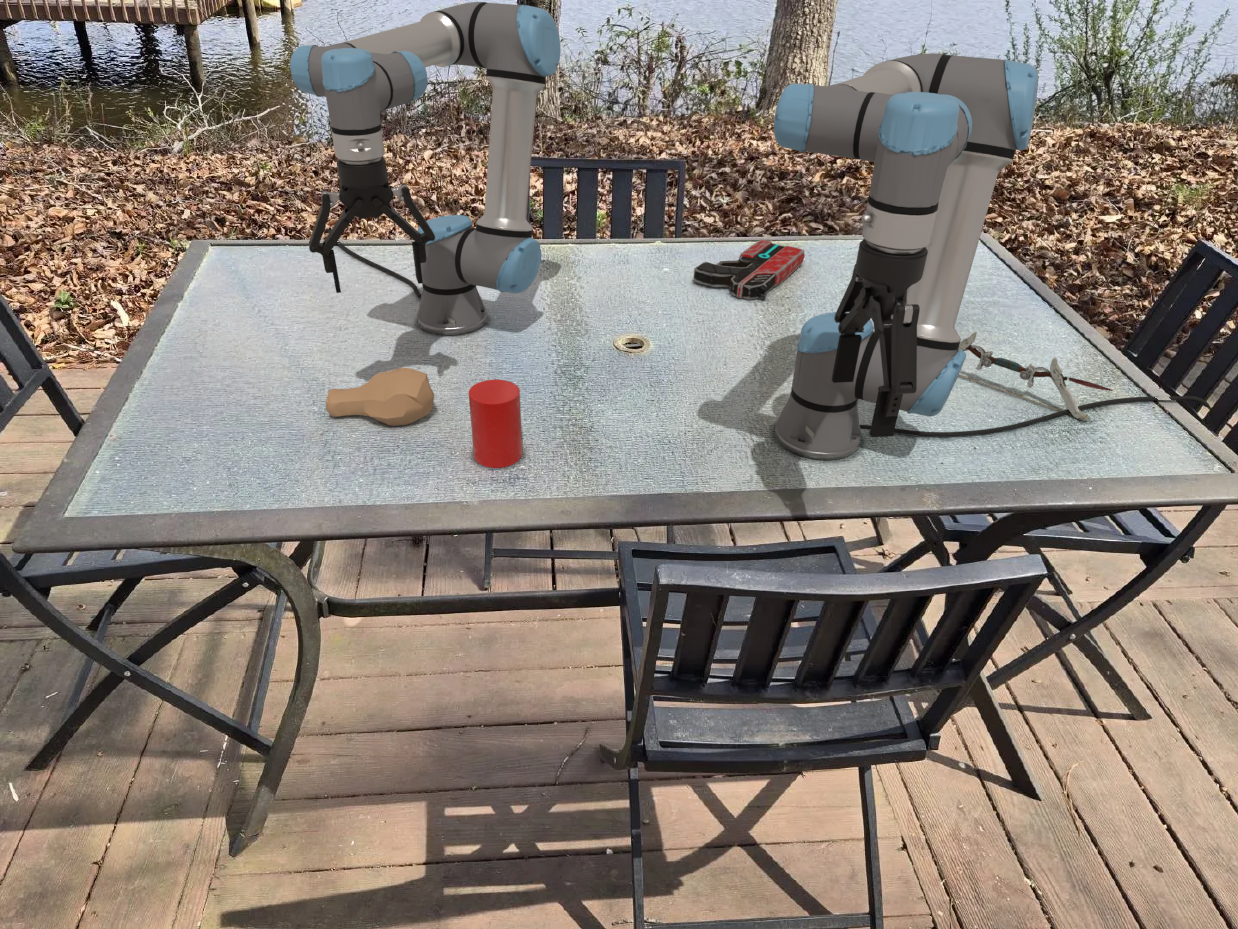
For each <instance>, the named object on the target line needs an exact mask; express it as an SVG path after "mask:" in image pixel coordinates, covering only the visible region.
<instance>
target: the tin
mask: <svg viewBox="0 0 1238 929" xmlns="http://www.w3.org/2000/svg"><path fill="white" fill-rule="evenodd" d="M468 401H469V416H470V427H471V439H472V453H473V459H474V460H475V462H476V463H477V464H479V465H481V466H483V467H486V468H490V469H491V468H493V469H502V468H507V467H510V466H513V465H515V464H517V463H518V462H519V461H520V460H521V459H522V457H523V435H522V433H523V432H522V412H521V410H522V409H521V390H520V388H519V386H518V385H517V384H515V383H514V382H512V381H510V380H505V379H487V380H486V379H485V380H482V381H479V382H476V383H475V384H473V385H472V386H471V387H470V388H469V390H468Z"/></svg>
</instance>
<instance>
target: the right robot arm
mask: <svg viewBox="0 0 1238 929" xmlns="http://www.w3.org/2000/svg"><path fill="white" fill-rule="evenodd" d="M1038 89H1039V73H1038V70H1037V68H1036V67H1035V66H1034V65H1032V64H1029V63H1025V62H1021V61H1015V60H1009V59H1006V58H1005V59H998V58H987V57H977V56H966V55H965V56H964V55H953V54H952V55H951V54H944V53H934V52H932V53H931V52H929V53H919V54H913V55H907V56H902V57H897V58H893V59H889V60H885V61H881V62H879V63H877V64H874V65H873V66H871V67H870V68H869V69H867V70H866V71H865V72H864V73H863V74H862V75H860V76H857V77H854V78H850V79H848V80H844V81H841V82H837V83H835V84H830V85H816V84H813V83H811V82H809V83H790V84H788V85H786V87H785V88H784V89H783V91H782V92H781V94H780V96H779V98H778V101H777V104H776V108H775V113H774V120H773V133H774V134H773V136H774V139H775V142H776V143H777V144H778V146H779V147H781V148H784V149H790V150H794V151H798V152H799V153H804V152H805V153H812V154H820V155H827V156H833V157H840V158H847V159H855V160H860V161H865V162H872V163H874V164H873V168H872V169H873V170H872V175H871V181H870V187H869V193H868V198H867V204H866V208H865V213H863V214H862V215H861V222H862V223H863V225H862V230H861V236H862V238H863V239H862V240H860V242H859V245H858V250H857V254H856V255H857V256H856V261H855V264H854V266H853V271H852V275H851V279H850V281H849V282H848V286H847V287H846V290H845V292H844V294H843V296H842V299H841V301H840V303H839V305H838V307H837V310H835V311H834V312H825V313H821V314H817V315H815V316H813V317H811V318H808V319H807V321H805V323H804V324H803V325H802V327H801V329H800V335H799V339H798V342H797V344H796V355H795V361H794V368H793V376H792V384H791V391H790V395H789V397H788V398H787V401H786V402H785V404H784V406H783V407H782V410H781V412H780V414H778V418H777V420H776V423H775V426H774V427H775V428H774V437H775V439H776V440H777V442H778V443H779V445H780V446H782V447H783V448H784V449H786V450H787V451H788V452H791V453H793V454H795V455H797V456H801V457H804V458H808V459H812V460H822V461H832V460H840V459H843V458H846V457H849V456H851V455H853V454H855V453H856V452H857V451H858V449H859V447H860V445H861V444H860V443H861V439H862V430H866V431H867V430H868V431H869V432H868V434H869V436H870V437H871V438H881V437H883V438H884V437H894V434H901V435H902V434H903V435H910V436H918V437H919V436H920V437H934V438H935V437H938V438H940V437H941V438H943V437H944V438H949V437H968V436H977V435H978V436H979V435H987V434H994V433H999V432H1006V431H1010V430H1014V429H1020V428H1023V427H1027V426H1030V425H1034V424H1037V423H1038V424H1039V423H1040V422H1046V421H1048V420H1051V419H1055V418H1058V417H1061V416H1064V415H1069V414H1068V413H1070V414H1072V413H1071V412H1070V411H1069V410H1068V408H1066V409H1063V410H1061V411H1055V412H1054V413H1049V414H1046V415H1044V416H1040V417H1038V418H1033V419H1028V420H1026V421H1021V422H1017V423H1014V424H1008V425H1004V426H1003V425H1002V426H997V427H991V428H985V429H976V430H975V429H974V430H962V431H923V430H912V429H906V428H905V429H904V428H898V427H897V428H896V425H897V421H898V419H899V418H898V417H899V413H900V411H901V412H902V411H903V412H906V413H907V414H909V415H910V414H914V415H919V416H925V417H935V416H937V415H938V414H940V412H941V411H942V410H943V409H944V406H945V405H946V402H947V401H948V399H949V397H950V395H951V392H952V390H953V388H954V386H955V384H956V382H957V380H958V377H959V375H960V373H961V371H962V368H963V365H964V363H965V360H966V358H967V353H966V351H964V352H963V350H958V348H959V344H960V342H961V341H962V338H961V336H960V334H959V333H958V331H957V329H956V322H957V319H958V315H959V312H960V309H961V305H962V302H963V298H964V294H965V291H966V287H967V284H968V281H969V276H970V273H971V270H972V267H973V263H974V259H975V256H976V252H977V249H978V245H979V241H980V239H981V235H982V231H983V228H984V224H985V221H986V217H987V214H988V209H989V207H990V203H991V199H992V197H993V193H994V189H995V186H996V181H997V178H998V176H999V173H1000V171H1001V170H1003V169H1004V168H1006V167H1007V166H1009V165H1010V164H1012V163H1013V162H1014V158H1015V154H1016V151H1024V150H1026V149H1027V148H1028V146H1029V145H1030V144H1029V143H1030V138H1031V135H1032V130H1033V125H1034V118H1035V112H1036V107H1037V106H1036V105H1037V98H1038ZM1155 397H1156V396H1133V397H1122V398H1113V399H1107V400H1100V401H1095V402H1090V403H1086V404H1081V405H1077V406H1078V409H1079V410H1080V411H1082V410H1087V409H1091V408H1096V407H1100V406H1106V405H1113V404H1121V403H1134V402H1151V401H1152V402H1160V401H1159V400H1158V399H1157V398H1155ZM1168 397H1169V398H1170V399H1171V400H1173V401H1172V402H1175V401H1176V402H1177V401H1193V402H1197V403H1200V404H1201V405H1202V406H1203V407H1205V408H1211V405H1210V403H1208V402H1207V401H1206V400H1205V399H1203V398H1201V397H1198V396H1194V395H1176V396H1175V395H1174V396H1168ZM859 400H861V401H864V402H868V403H872V404H875V405H874V410H873V415H872V420H871V424H861V423H860V418H859V411H858V401H859Z"/></svg>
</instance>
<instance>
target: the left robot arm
mask: <svg viewBox="0 0 1238 929" xmlns="http://www.w3.org/2000/svg"><path fill="white" fill-rule="evenodd" d="M561 50H562V49H561V39H560V33H559V29H558V26H557V25H556V21H555V19H554V18H553V16H552V15H551V13H550V12H548V11H547V10H546V9H544V8H541V7H537V6H533V5H532V6H531V5H528V4H526V5H525V4H512V3H499V2H498V3H497V2H486V1H470V2H465V3H460V4H457V5H452V6H449V7H444V8H441V9H439V10H434V11H430V12H428V13H426V14H424V15H423V16H422V17H421V18H420V21H417V22H414V23H409V24H405V25H402V26H399V27H394V28H391V29H387V30H384V31H380V32H379V31H378V32H376V33H372V34H369V35H364V36H361V37H358V38H354V39H353V38H352V39H350V40H347V41H343V42H339V43H334V44H329V45H325V46H319V45H317V44H311V45H309V44H308V45H305V44H304V45H300V46H298V47H297V48H296V49H295V50H294V51H293V53H292V55H291V59H290V62H289V70H290V74H291V79H292V81H293V83H294V85H295V86H296V87H297V89H298V90H300V91H301V92H302V93H305V94H308V95H314V96H316V97H318V98H322V97H324V98H325V99H326V105H327V111H328V116H329V122H330V129H331V137H332V144H333V149H334V150H333V151H334V156H335V158H337V159H338V160H337V161H336V169H337V174H338V180H339V181H338V182H339V187H340V188H339V191H338V192H331V191H329V190H327V189H323V190H322V191H321V193H320V195H321V196H320V197H321V199H320V200H321V205H320V208H319V211H318V214H317V217H316V220H315V223H314V225H313V229H312V232H311V235H310V238H309V241H308V248H309V252H310V253H314V254H315V253H317V254H320V255H321V256H322V257H321V258H322V262H323V267H324V272H325V273H326V274H332V277H333V281H334V288H335V292H336V294H340V293H342V288H341V283H340V278H339V271H338V267H337V260H336V255H335V250H334V248H335V245H337V246H338V247H339V248H340V249H341V250H343V251H344V252H346V253H347V254H349V255H350V256H351V257H353V258H356V259H357V260H359V261H361V262H362V263H364V264H367V265H369V266H372V267H374V268H376V269H377V270H379V271H382V272H385V273H387V274H388V275H391V276H392V277H394V278H397V279H399V280H400V281H402V282H404V283H406V284H407V285H409V286H411V288H412V289H413V291H414V293H415V295H416V297H417V298H419V299H420V302H419V305H418V310H417V315H416V318H417V325H418V326H419V328H420V329H421V330H423V331H424V332H427V333H430V334H433V335H440V336H459V335H465V334H469V333H473V332H476V331H477V330H480V329H481V328H483V327H484V326H485V325H486V323H487V320H488V316H487V310H486V306H485V304H484V302H483V299H482V298H481V295H480V293H479V291H478V288H477V287H482V288H487V289H490V290H495V291H498V292H501V293H510V294H520V293H522V292H525V291H526V290H527V289H528V288H530V287H531V285H532V284H533V282H534V281H535V279H536V278H537V276H538V273H539V270H540V268H541V263H542V249H541V244H540V242H539V241H538V240H537V239H535V238H533V229H534V228H533V227H532V225H531V224H530V223H529V221H528V220H527V214H528V201H529V190H530V188H529V187H530V178H531V167H532V155H533V145H534V144H533V143H534V133H535V131H534V130H535V122H536V120H535V119H536V110H537V109H536V108H537V99H538V98H537V97H538V94H539V93H540V92H541V91H542V90H543V89H545V88H546V83H547V82H546V81H547V77H550V76H553V75H554V74H555V73H556V72H557V70H558V66H559V65H560V60H561ZM431 66H436V67H439V68H446V67H451V66H466V67H474V68H481V69H486V70H485V71H486V72H485V79H486V81H487V82H488V83H489V85H490V86H491V88H492V97H491V112H490V127H489V128H490V129H489V139H488V140H489V141H488V155H487V170H486V182H485V184H486V185H485V200H484V212H483V215H482V216H481V217H480V218H478V219H477V220H476V221H475V227H473V225H474V223H473V220H472V218H470V217H469V216H467V215H464V214H449V215H442V216H437V217H434V218H430V219H428V220H426V218H425V217H424V216H423V214H422V213H421V211H420V209H419V208H418V207H417V205H416V202H414V200H413V198H412V195H411V191H410V188H409V186H408V184H407V183H404V182H403V183H401V184H400V186H395V187H391V186H390V183H389V176H388V168H387V160H386V159H385V158H384V157H383V156H385V153H386V152H385V146H384V145H385V144H384V138H383V130H382V122H381V115H380V112H383V111H387V110H390V109H393V108H396V107H399V106H402V105H403V106H404V105H409V104H411V103H413V101H416V100H418V99H420V98H421V97H422V96H423V95H424V94H425V93H426V91H427V88H428V83H429V80H428V78H429V77H428V71H427V68H428V67H431ZM394 197H397V198H398V200H399V201H401V202H402V201H403V202H404V204H405V205H406V208H407V209H408V210H409V213H410V214H411V215H412V216H413V218H414V219H415V221H416V223H417V224H418V225H419V226H418V227H417V229H416V228H415V227H414V226H413V225H412V224H410V223H409V222H408V221H407V220H406V219H405V218H404V217H403V216H402V215H401V214H400V213H399V212H398V211H397V210H396V209H395V208H394V207H393V206H392V205H390V204H391V202H392V200H393V198H394ZM338 201H340V203H341V204H342V205H343V206H344V209H343V210H342V212H341V215H340V216H339V218H338V219H337V220H336V222H335V224H334V225H333V227H332V228H331V229H330V228H328V227H327V228H326V226H327V223H328V220H329V216H330V214H331V208H333V207H335V206H336V203H337V202H338ZM383 215H384V216H386V217H387V218H388V219H389V220H391V222H393V223H394V224H395V225H397V226H398V228H400V229H401V230H402V231H403V232H404V233H406V234H405V235H407V236H409V237H410V238H411V239H412V240H413V241H411V247H412V256H413V263H414V264H413V265H414V271H415V278H416V281H417V284H418V285H422V292H421V293H420V290H419V288H418V286H417V284H416V283H414V281H412V280H410V279H409V278H407V277H406V276H403V275H401V274H400V273H397V272H395V271H393V270H391V269H389V268H386V267H385V266H382V265H380V264H378V263H376V262H374V261H371V260H369V259H368V258H366V257H363V256H362V255H360V254H358V253H356V252H354V251H353V250H351V249H349V247H346V246H345V245H344V244H343V243H342V242H340V238H341V237H342V235H343V234H344V232H345V231H346V229H347V228H348V227H349V225H350V224H351V223H352V222H353V221H354V219H355V218H358V219H359V220H364V219H369V218H373V219H377V218H380V217H382V216H383ZM323 234H327V235H326V237H325V239H324V240H323V241H322V243H321V240H322V237H323ZM337 241H339V242H337ZM338 243H340V244H338ZM341 243H342V244H341Z"/></svg>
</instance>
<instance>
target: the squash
mask: <svg viewBox="0 0 1238 929" xmlns="http://www.w3.org/2000/svg"><path fill="white" fill-rule="evenodd" d="M434 399H435V393H434V390H433V389H432V387H431V384H430V381H429V377H428V373H426V372H423V371H420V370H417V369H414V368H409V367H405V366H404V367H403V366H401V367H398V368H394V369H392V370H387V371H381V372H377V373H376V374H374V375H372V377H370V378H369V380H368V381H367V382H366V383H363V384H362V385H360V386H359V387H349V388H332V389H328V391H327V396H326V399H325V411H326V412H327V413H328V414H329V415H330V416H331V417H332V418H336V417H343V416H356V415H357V416H358V415H360V416H364V417H370V418H372V419H374V420H376V421H379V422H380V423H383V424H385V425H388V426H389V427H390V426H405V425H406V426H407V425H410V424H412V423H414V422H416V421H418V420H420V419H422V418H424V417H426V416H427V415H429V413H431V411H432V410H433V409H434Z"/></svg>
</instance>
